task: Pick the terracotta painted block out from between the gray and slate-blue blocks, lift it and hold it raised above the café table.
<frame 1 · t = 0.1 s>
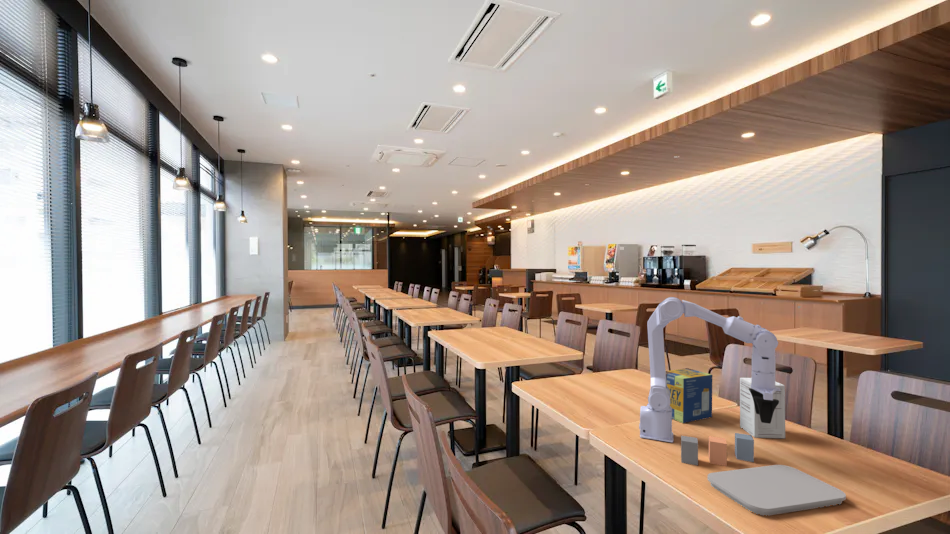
hand: (763, 418, 122), 10 cm above the table, tool pointing down, fingers open, 7 cm apart
protein box: (685, 416, 153), on the table
tablet: (773, 494, 100), on the table
gray block: (689, 461, 116), on the table
supplement box: (761, 433, 137), on the table
slate-blue block: (744, 457, 119), on the table
terracotta block: (717, 461, 116), on the table
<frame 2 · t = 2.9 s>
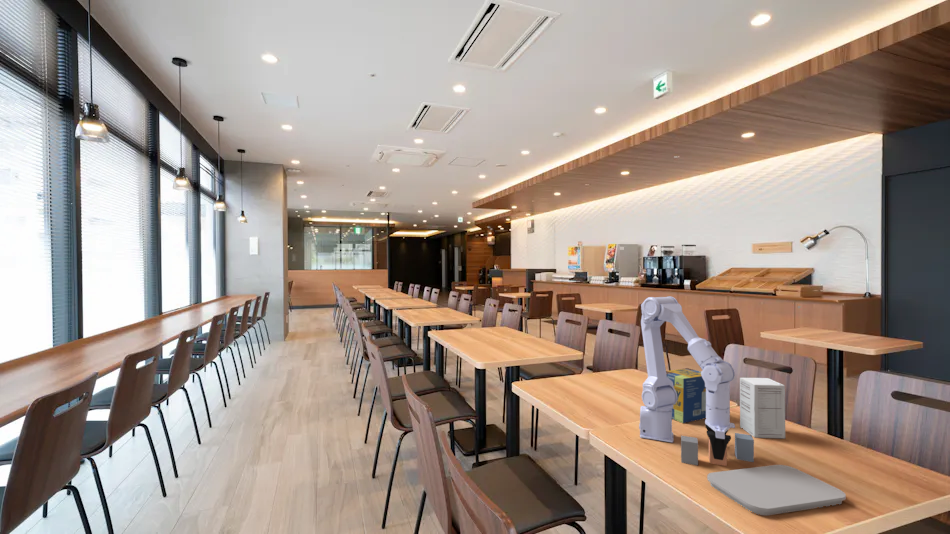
hand: (717, 455, 116), 2 cm above the table, tool pointing down, fingers closed on terracotta block, 4 cm apart
terracotta block: (717, 461, 116), on the table, touching gripper
everything else where it was.
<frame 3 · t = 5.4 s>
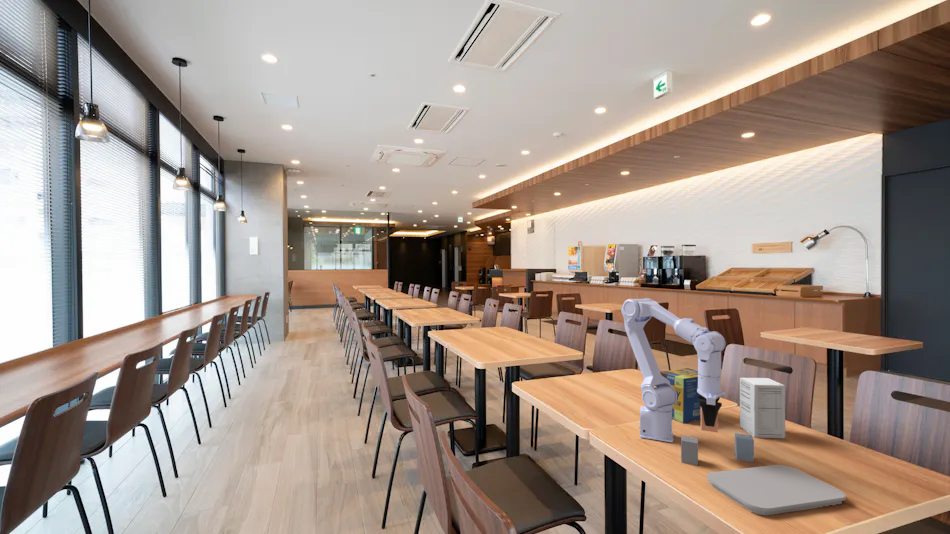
hand: (708, 423, 120), 9 cm above the table, tool pointing down, fingers closed on terracotta block, 4 cm apart
terracotta block: (708, 428, 119), point 8 cm above the table, touching gripper
everything else where it was.
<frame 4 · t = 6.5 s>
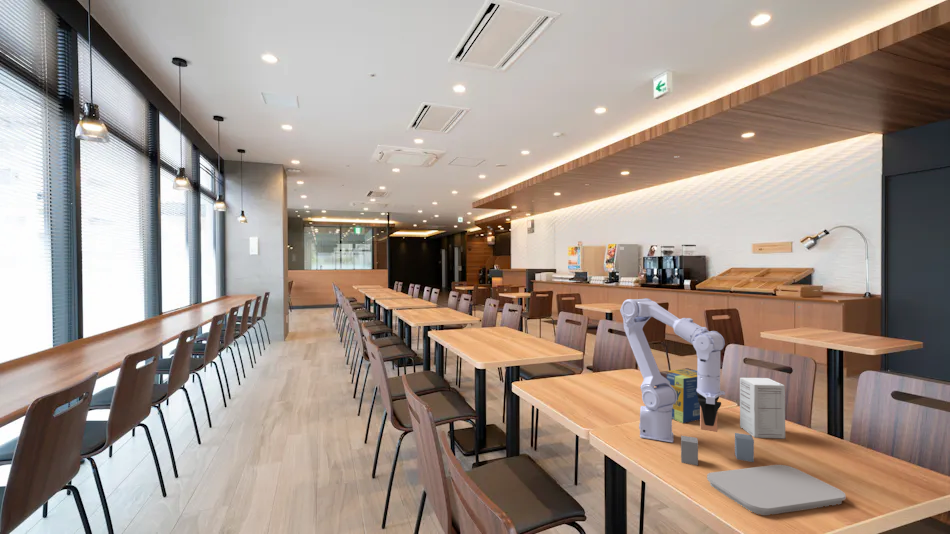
hand: (708, 422, 120), 9 cm above the table, tool pointing down, fingers closed on terracotta block, 4 cm apart
terracotta block: (708, 428, 120), point 8 cm above the table, touching gripper
everything else where it was.
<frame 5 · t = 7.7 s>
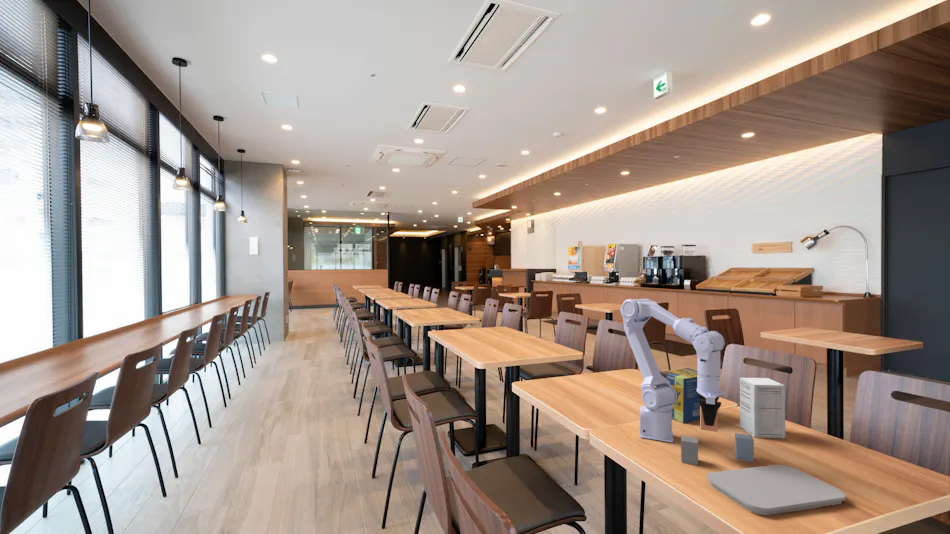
hand: (708, 422, 120), 9 cm above the table, tool pointing down, fingers closed on terracotta block, 4 cm apart
terracotta block: (708, 428, 120), point 8 cm above the table, touching gripper
everything else where it was.
at the end: terracotta block point 7.8 cm above the table; gray block moved 0.1 cm from its start; slate-blue block moved 0.1 cm from its start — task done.
